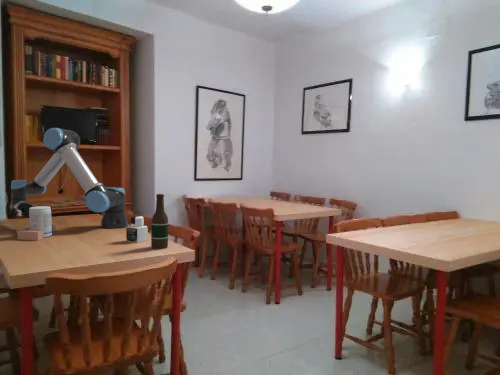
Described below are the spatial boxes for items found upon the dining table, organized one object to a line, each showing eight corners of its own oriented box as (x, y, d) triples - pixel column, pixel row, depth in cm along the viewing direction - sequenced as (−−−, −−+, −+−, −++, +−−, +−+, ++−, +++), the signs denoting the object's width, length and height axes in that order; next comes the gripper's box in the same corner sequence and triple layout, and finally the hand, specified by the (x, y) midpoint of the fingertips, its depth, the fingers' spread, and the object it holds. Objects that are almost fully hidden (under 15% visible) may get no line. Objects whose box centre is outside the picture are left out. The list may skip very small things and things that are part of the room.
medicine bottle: (126, 241, 176) (126, 216, 175) (137, 238, 182) (137, 215, 182) (137, 243, 173) (137, 217, 172) (147, 240, 179) (147, 216, 178)
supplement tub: (49, 234, 190) (49, 205, 189) (53, 236, 183) (53, 207, 182) (28, 236, 184) (27, 206, 183) (31, 239, 176) (30, 208, 176)
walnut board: (55, 229, 203) (55, 224, 203) (26, 236, 182) (26, 230, 182) (46, 229, 204) (46, 223, 204) (16, 235, 183) (16, 229, 183)
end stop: (42, 239, 176) (42, 231, 176) (37, 240, 174) (37, 232, 173) (22, 238, 178) (22, 229, 178) (17, 239, 175) (17, 231, 175)
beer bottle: (164, 249, 160) (164, 195, 159) (147, 248, 162) (148, 194, 161) (171, 246, 168) (171, 193, 167) (155, 244, 170) (156, 193, 168)
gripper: (48, 213, 214) (61, 217, 199) (-3, 217, 196) (7, 221, 181) (48, 200, 213) (61, 203, 198) (-3, 203, 195) (7, 206, 181)
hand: (35, 212), depth 190 cm, fingers open, 13 cm apart
